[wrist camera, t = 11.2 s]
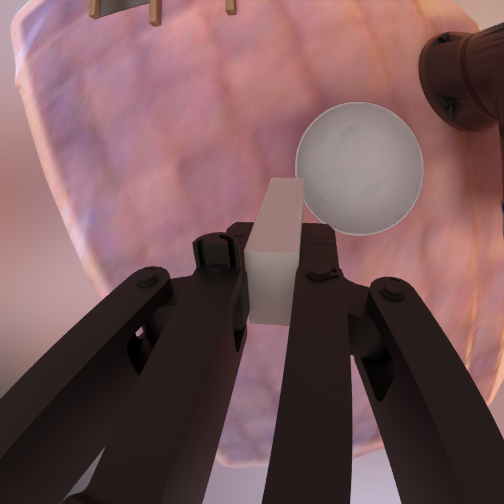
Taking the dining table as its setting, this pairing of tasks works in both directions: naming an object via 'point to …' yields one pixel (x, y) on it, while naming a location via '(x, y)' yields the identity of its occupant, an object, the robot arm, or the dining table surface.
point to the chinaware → (359, 168)
